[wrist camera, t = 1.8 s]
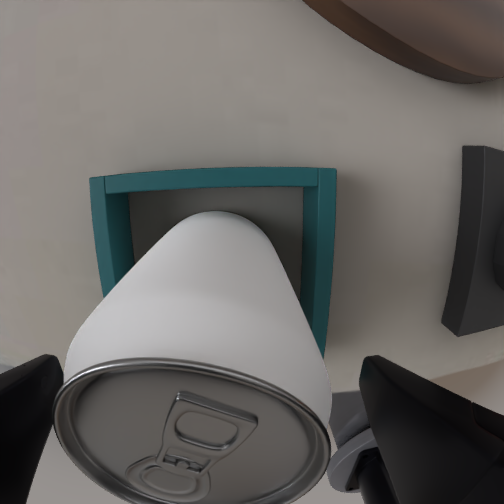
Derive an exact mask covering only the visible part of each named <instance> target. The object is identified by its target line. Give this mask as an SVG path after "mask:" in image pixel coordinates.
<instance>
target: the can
mask: <svg viewBox="0 0 504 504" xmlns="http://www.w3.org/2000/svg"><path fill="white" fill-rule="evenodd" d="M331 406H332V391H331V385H330V381H329V377H328V373H327V369H326V367H325V364H324V361H323V358H322V356H321V353H320V351H319V348H318V346H317V343H316V341H315V338H314V336H313V334H312V331H311V329H310V327H309V324H308V322H307V320H306V317H305V315H304V313H303V310H302V308H301V306H300V304H299V301H298V299H297V297H296V294H295V292H294V290H293V288H292V286H291V283H290V281H289V279H288V277H287V274H286V272H285V270H284V268H283V266H282V264H281V261H280V259H279V257H278V255H277V253H276V251H275V249H274V247H273V245H272V243H271V242H270V240H269V239H268V237H267V236H266V235H265V233H264V232H263V231H262V230H261V229H260V228H259V227H258V226H256V225H255V224H254V223H252V222H251V221H249V220H248V219H246V218H244V217H242V216H239V215H237V214H233V213H229V212H224V211H208V212H202V213H198V214H195V215H192V216H190V217H188V218H186V219H184V220H182V221H181V222H179V223H178V224H176V225H175V226H174V227H173V228H172V229H171V230H170V231H168V232H167V233H166V234H165V235H164V236H163V237H162V238H161V239H160V240H159V241H158V242H157V243H156V244H155V245H154V246H153V247H152V248H151V249H150V250H149V251H148V252H147V253H146V254H145V255H144V256H143V257H142V258H141V259H140V260H139V261H138V262H137V263H136V264H135V265H134V266H133V267H132V269H131V270H130V271H129V272H128V273H127V274H126V275H125V276H124V277H123V278H122V279H121V280H120V281H119V282H118V284H117V285H116V286H115V287H114V288H113V289H112V290H111V291H110V292H109V293H108V295H107V296H106V297H105V298H104V299H103V300H102V301H101V302H100V304H99V305H98V306H97V307H96V308H95V309H94V311H93V312H92V313H91V314H90V315H89V317H88V318H87V319H86V321H85V322H84V323H83V324H82V326H81V327H80V329H79V330H78V332H77V334H76V335H75V337H74V339H73V341H72V343H71V345H70V347H69V350H68V353H67V357H66V362H65V368H64V384H63V386H62V387H61V388H60V390H59V391H58V393H57V395H56V397H55V400H54V404H53V409H52V419H53V426H54V430H55V433H56V435H57V438H58V440H59V442H60V444H61V446H62V448H63V449H64V451H65V452H66V454H67V455H68V457H69V458H70V459H71V460H72V461H73V463H74V464H75V465H76V466H77V467H78V468H79V469H80V470H81V471H82V472H83V473H84V474H85V475H86V476H87V477H88V478H90V479H91V480H92V481H93V482H95V483H96V484H98V485H99V486H100V487H102V488H103V489H105V490H107V491H108V492H110V493H111V494H113V495H115V496H117V497H119V498H120V499H123V500H124V501H127V502H129V503H131V504H290V503H292V502H294V501H296V500H297V499H299V498H300V497H302V496H303V495H305V494H306V493H307V492H309V491H310V490H311V489H312V488H313V487H314V486H315V485H316V484H317V483H318V482H319V480H320V479H321V478H322V476H323V475H324V473H325V471H326V470H327V467H328V465H329V462H330V457H331V442H330V439H329V435H328V432H327V426H328V423H329V418H330V414H331Z"/></svg>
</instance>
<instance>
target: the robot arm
mask: <svg viewBox="0 0 504 504" xmlns="http://www.w3.org/2000/svg"><path fill="white" fill-rule="evenodd" d="M63 384H64V374H63V371H62V368H61V366H60V363H59V360H58V358H57V357H56V356H54V355H48V354H44V355H42V356H39V357H37V358H35V359H33V360H31V361H28V362H26V363H24V364H22V365H19V366H17V367H15V368H13V369H11V370H8V371H6V372H4V373H2V374H0V504H26V502H27V498H28V495H29V491H30V488H31V485H32V482H33V478H34V475H35V472H36V469H37V466H38V463H39V460H40V457H41V455H42V452H43V449H44V446H45V444H46V441H47V438H48V436H49V433H50V430H51V428H52V425H53V419H52V409H53V404H54V400H55V397H56V395H57V393H58V391H59V390H60V388H61V387H62V386H63ZM359 387H360V390H361V394H362V398H363V401H364V405H365V409H366V412H367V416H368V420H369V423H370V427H371V430H372V433H373V435H374V438H375V440H376V443H377V445H378V447H374V448H370V449H365V450H363V451H361V452H360V453H359V454H358V457H357V459H356V462H355V464H354V466H353V469H352V471H351V474H350V476H349V478H348V481H347V483H346V485H345V490H346V491H353V490H358V489H360V492H361V495H362V498H363V500H364V503H365V504H504V415H501V414H498V413H496V412H493V411H491V410H489V409H487V408H485V407H482V406H480V405H478V404H476V403H474V402H473V403H472V402H471V401H470V400H468V399H465V398H463V397H461V396H459V395H457V394H455V393H453V392H451V391H449V390H447V389H445V388H443V387H441V386H439V385H437V384H435V383H433V382H431V381H429V380H427V379H425V378H423V377H421V376H419V375H417V374H415V373H413V372H411V371H409V370H407V369H405V368H403V367H401V366H399V365H397V364H395V363H393V362H391V361H389V360H387V359H385V358H383V357H381V356H379V355H374V356H367V357H366V358H364V361H363V365H362V369H361V374H360V378H359Z"/></svg>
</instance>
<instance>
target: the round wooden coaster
mask: <svg viewBox="0 0 504 504" xmlns="http://www.w3.org/2000/svg"><path fill="white" fill-rule="evenodd" d="M303 1H304V2H305V3H306V4H307V5H308V6H309V7H311V8H312V9H313V10H315V11H316V12H317V13H319V14H320V15H321V16H323V17H324V18H325V19H326V20H328V21H329V22H330V23H332V24H333V25H335V26H336V27H338V28H339V29H341V30H342V31H344V32H345V33H346V34H348V35H349V36H351V37H352V38H354V39H355V40H357V41H359V42H361V43H362V44H364V45H365V46H367V47H369V48H370V49H372V50H373V51H375V52H377V53H379V54H381V55H383V56H385V57H387V58H389V59H390V60H392V61H394V62H396V63H398V64H400V65H403V66H405V67H407V68H409V69H411V70H414V71H416V72H419V73H421V74H424V75H427V76H430V77H433V78H435V79H440V80H444V81H448V82H453V83H464V84H471V83H481V82H485V81H489V80H494V79H499V78H503V77H504V0H303Z"/></svg>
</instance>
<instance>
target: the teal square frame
mask: <svg viewBox="0 0 504 504" xmlns="http://www.w3.org/2000/svg"><path fill="white" fill-rule="evenodd" d="M336 179H337V170H336V168H310V167H227V168H200V169H180V170H165V171H151V172H139V173H128V174H118V175H109V176H100V177H91V178H90V179H89V183H90V198H91V211H92V221H93V230H94V239H95V247H96V254H97V261H98V268H99V274H100V280H101V286H102V291H103V297H104V298H105V297H106V296H107V295H108V293H109V292H110V291H111V290H112V289H113V288H114V287H115V286H116V285H117V284H118V282H119V281H120V280H121V279H122V278H123V277H124V276H125V275H126V274H127V273H128V272H129V271H130V270H131V269H132V267H133V266H134V265H135V264H134V256H133V247H132V237H131V226H130V214H129V200H128V192H140V191H154V190H171V189H191V188H217V187H273V186H287V187H304V195H303V243H302V271H301V293H300V306H301V308H302V310H303V313H304V315H305V317H306V320H307V322H308V324H309V327H310V329H311V331H312V334H313V336H314V338H315V341H316V343H317V346H318V348H319V351H320V353H321V356H322V358H323V359H324V351H325V343H326V335H327V326H328V316H329V306H330V295H331V284H332V271H333V256H334V239H335V217H336Z"/></svg>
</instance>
